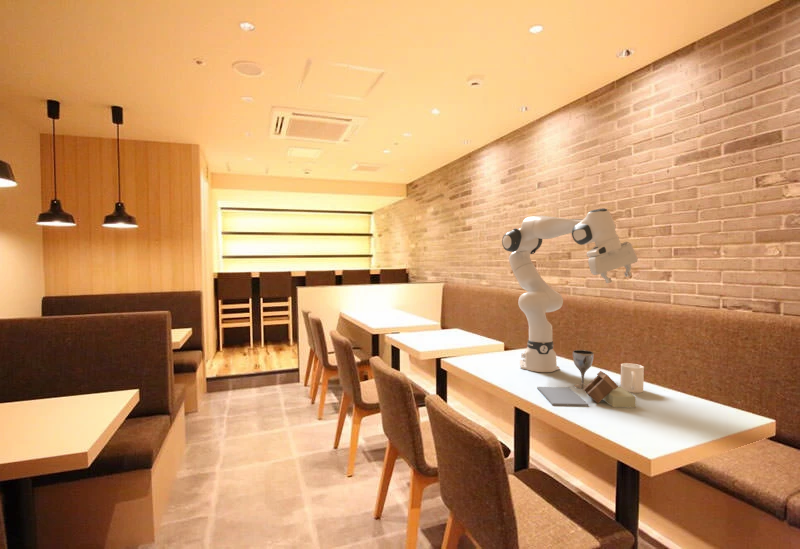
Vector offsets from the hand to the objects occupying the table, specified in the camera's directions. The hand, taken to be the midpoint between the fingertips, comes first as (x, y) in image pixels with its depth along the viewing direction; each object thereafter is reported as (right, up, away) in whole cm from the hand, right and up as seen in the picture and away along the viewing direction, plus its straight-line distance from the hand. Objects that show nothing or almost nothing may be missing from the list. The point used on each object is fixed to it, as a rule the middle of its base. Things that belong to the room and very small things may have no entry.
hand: (618, 279), depth 164 cm
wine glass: (-11, -46, +8) cm, 48 cm away
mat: (-25, -46, -5) cm, 53 cm away
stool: (-12, -46, -10) cm, 49 cm away
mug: (+7, -46, +2) cm, 47 cm away
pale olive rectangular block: (-6, -46, -10) cm, 48 cm away
